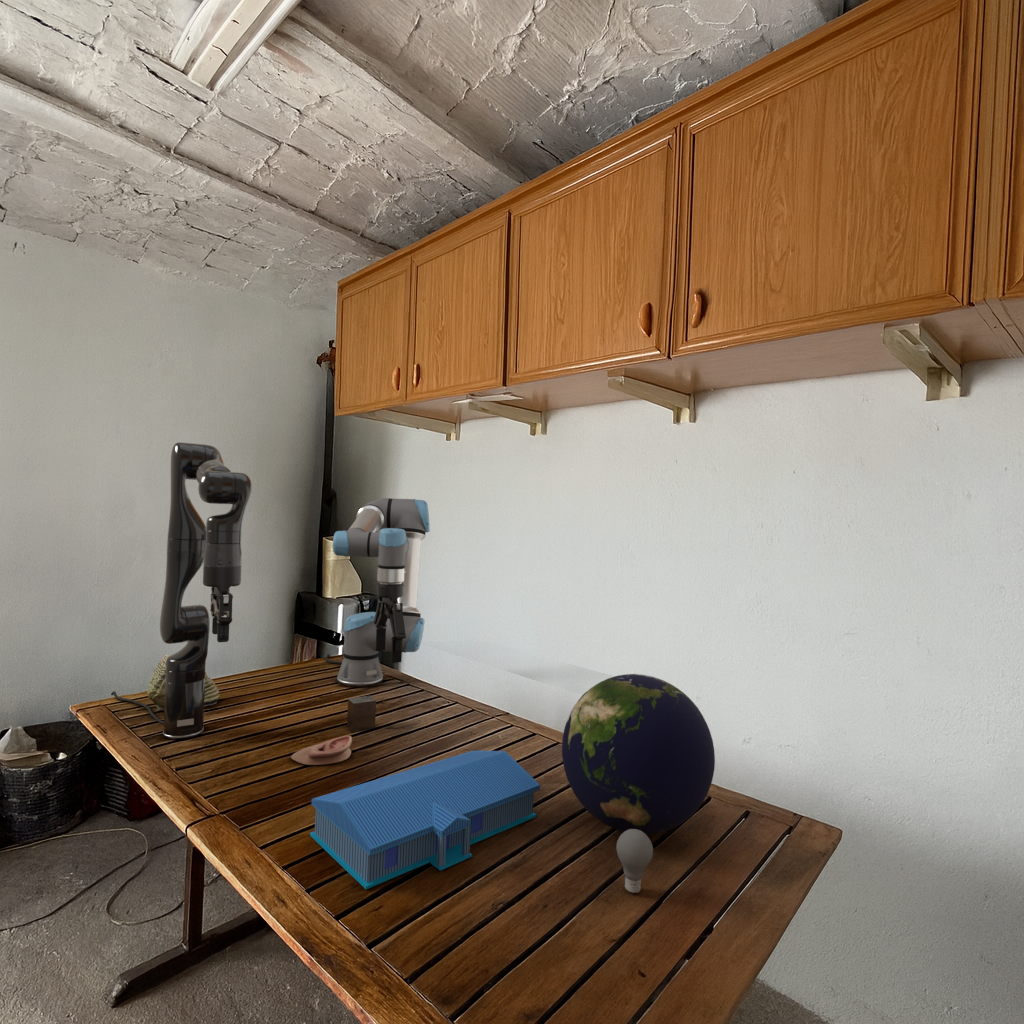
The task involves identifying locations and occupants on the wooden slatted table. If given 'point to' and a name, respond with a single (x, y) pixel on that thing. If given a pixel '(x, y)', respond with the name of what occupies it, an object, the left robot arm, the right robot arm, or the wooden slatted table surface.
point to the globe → (638, 754)
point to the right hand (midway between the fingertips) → (388, 656)
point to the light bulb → (634, 857)
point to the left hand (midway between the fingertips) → (220, 637)
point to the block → (361, 713)
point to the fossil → (158, 687)
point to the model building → (423, 815)
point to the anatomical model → (325, 752)
